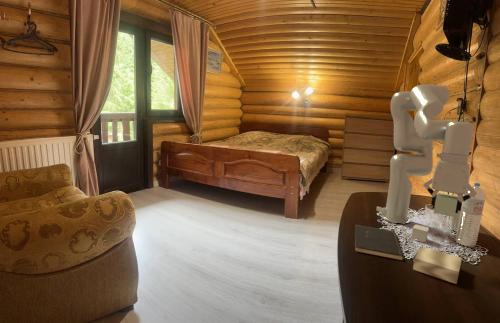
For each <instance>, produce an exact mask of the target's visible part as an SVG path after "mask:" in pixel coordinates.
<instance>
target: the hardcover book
mask: <svg viewBox="0 0 500 323" xmlns="http://www.w3.org/2000/svg"><path fill="white" fill-rule="evenodd" d="M354 248H355V252H359V253H363V254H364V253H365V254H370V255H374V256H379V257H385V258H389V259H395V260H400V261H404V255H403V252H402V249H401V246H400V243H399V239H398V236H397V233H396V232H395V230H392V229H391V230H390V229H385V228H379V227H372V226H366V225H361V224H354Z"/></svg>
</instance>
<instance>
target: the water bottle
mask: <svg viewBox="0 0 500 323" xmlns="http://www.w3.org/2000/svg"><path fill="white" fill-rule="evenodd" d="M480 186H481V183H479V182H474V183H473V186H471V187H472V188H473V189H474V190H475V191H476V193H477V194H476V195H475V196H473V197H471V198H469V199H467V200H465V201H463V202H462V203H463V205H462V210H461V213H460V218H459V224H458V229H457V232H456V235H455V242H456V244H458V243H459V244H458V245H460V244H461V245H460V246H463V245H464V246H463V247H466V246H469V247H468V248H474V247H475V246H476V245H477V241H478V237H479V232H480V229H481V228H480V227H481V222H482V217H483V210H484V207H485V201H486V199H487V194H486V193H485V191H484V190H483V189H482V188H481V187H480ZM469 193H470V191H469V190H468V189H467V192H466V193H465V194H463V196H465V195H467V194H469Z"/></svg>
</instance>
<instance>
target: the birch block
mask: <svg viewBox="0 0 500 323" xmlns="http://www.w3.org/2000/svg"><path fill="white" fill-rule="evenodd" d="M462 259H463V257H460V256H457V255H453V254H450V253H446V252H442V251H439V250H437V249H433V248H429V247H427V246H423V245H421V246H420V248H419V249H418V252H417V253H416V255H415V256H414V261H413V266H412V270H413V271H417V272H419V273H423V274H426V275H428V276H431V277H434V278H437V279H440V280H443V281H447V282H449V283H452V284H455V285H457V283H458V279H459V275H460V271H461V270H460V269H461V264H462Z"/></svg>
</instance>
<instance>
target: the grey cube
mask: <svg viewBox="0 0 500 323" xmlns="http://www.w3.org/2000/svg"><path fill="white" fill-rule="evenodd" d="M429 230H430V228H429V227H427V226H423V225H419V224H414V225H413V227H412V232H411V238H410V239H411V240H412V239H417V240H418V241H417V242H419V241H420V243H423V242H425V243H426V242H427V240H428V237H427V236H429ZM426 239H427V240H426Z"/></svg>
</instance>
